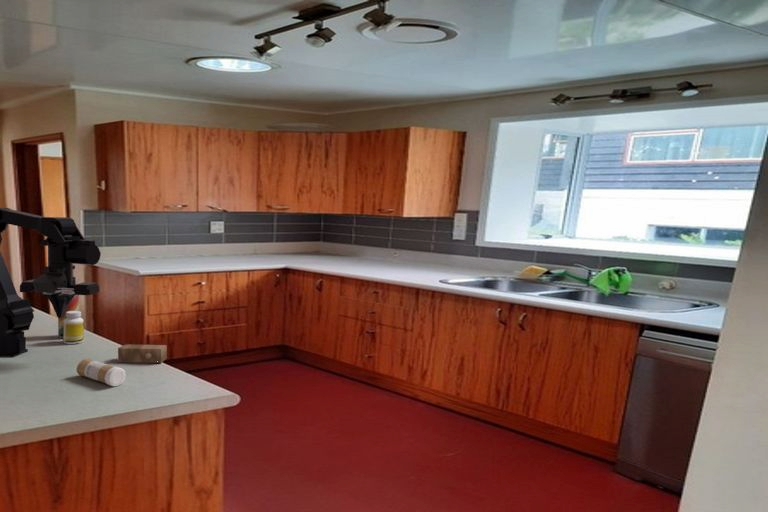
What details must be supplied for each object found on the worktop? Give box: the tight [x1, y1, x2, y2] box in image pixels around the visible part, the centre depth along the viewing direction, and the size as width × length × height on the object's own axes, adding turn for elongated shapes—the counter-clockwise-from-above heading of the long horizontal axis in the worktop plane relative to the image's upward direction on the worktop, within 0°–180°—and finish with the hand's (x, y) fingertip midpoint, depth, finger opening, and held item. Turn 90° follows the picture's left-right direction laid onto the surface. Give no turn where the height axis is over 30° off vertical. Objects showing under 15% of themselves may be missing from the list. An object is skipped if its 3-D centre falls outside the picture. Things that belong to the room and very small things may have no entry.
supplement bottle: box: [62, 310, 85, 345], centre depth 157 cm, size 5×5×10 cm
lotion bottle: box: [57, 276, 80, 339], centre depth 162 cm, size 6×6×20 cm
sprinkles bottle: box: [76, 358, 127, 387], centre depth 126 cm, size 5×5×14 cm
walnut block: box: [117, 344, 168, 364], centre depth 144 cm, size 4×4×12 cm
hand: (60, 317), depth 140 cm, fingers closed
